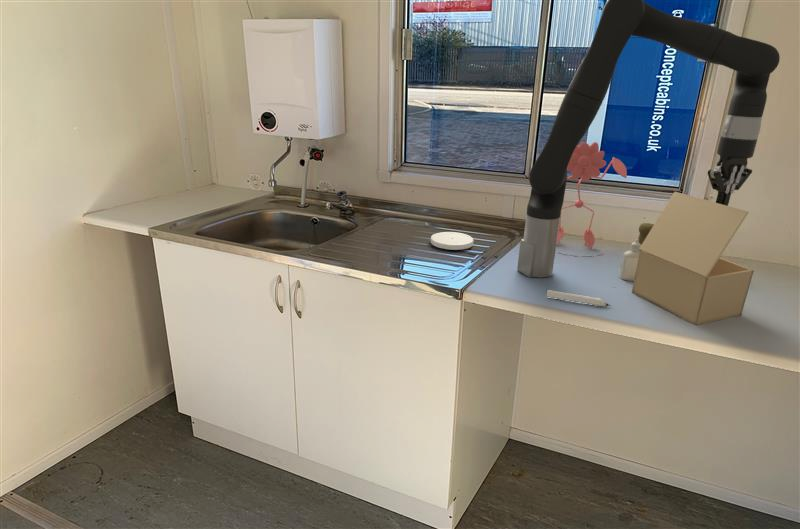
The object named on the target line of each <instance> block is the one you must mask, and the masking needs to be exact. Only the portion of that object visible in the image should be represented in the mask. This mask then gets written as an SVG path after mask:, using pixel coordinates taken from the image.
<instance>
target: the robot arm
mask: <svg viewBox="0 0 800 529" xmlns="http://www.w3.org/2000/svg"><path fill="white" fill-rule="evenodd" d="M601 12H602V13H601V15H600V18H599V21H598V24H597V27H596V29H595V32H594V36H593V39H592V41H591V43H590V46H589V48H588V49H587V52H586V54H585V55H584V58H583V59H582V61H581V63H580V65H579V66H578V68H577V70H576V72H575V73H574V76H573V77H572V80H571V82H570V84H569V85H568V88H567V90H566V92H565V94H564V97H563V99H562V102H561V103H560V106H559V109H558V111H557V114H556V116H555V119H554V122H553V125H552V126H551V131H550V133H549V135H548V138H547V141H546V143H545V144H544V146H543V148H542V150H541V152H540V153H539V156H538V157H537V158H536V161H535V162H534V164H533V165H532V167H531V169H530V171H529V176H528V178H529V179H528V180H529V185H530V187H531V190H530V195H529V200H528V203H527V208H526V215H525V216H526V217H525V224H524V231H523V232H524V234H523V238H521V239H520V242H519V251H518V260H517V267H516V269H517V271H518V272H519V273H522V274H523V275H525V276H526V277H528V278H540V279H541V278H548V277H551V276H552V275H553V271H554V262H555V256H556V249H557V244H558V243H557V236H558V229H559V222H560V215H561V216H562V210H563V209H562V208H563V205H564V201H565V199H564V198H565V195H566V194H565V193H566V186H567V180H568V178H567V177H568V171H567V166H568V164H569V161H570V159H571V156H572V154H573V152H574V150H575V148H576V146H577V145H579V143H581V142H580V141H581V140H582V139H583V138H584V136H585V134H586V132H587V131H588V130H589V128H590V126H591V125H592V123H593V121H594V120H595V119H596V116H597V114H598V112H599V110H600V108H601V106H602V105H603V101H604V100H605V98H606V96H607V93H608V90H609V88H610V85H611V82H612V79H613V75H614V72H615V69H616V65H617V62H618V60H619V58H620V55H621V54H622V53H623V52H622V51H623V50H624V49H625V46H626V45H627V43H628V42H629V39H630V38H631V37H632V36H634V37H638V38H643V39H647V40H651V41H654V42H657V43H660V44H663V45H665V46H668V47H670V48H672V49H675V50H677V51H678V52H682V53H684V54H686V55H688V56H691V57H694V58H697V59H699V60H702V61H705V62H708V63H711V64H714V65H719V66H723V67H726V68H728V69H729V70H730V69H731V70H733V71H735V79H734V85H733V91H732V96H731V98H730V100H729V101H730V102H729V106H728V110H727V114H726V117H725V120H724V123H723V126H722V128H721V129H722V130H721V134H720V138H719V141H718V142H719V143H718V146H717V150H716V153H717V155H719V159H718V160H717V162H716V167H714V169H709V170H708V171H707V176H708V179H709V181H710V184H711V188H712V189H713V190H715V191H716V192H717V195H716V199H715V203H719V204H722V205H726V206H729V204H730V200H731V195H732V194H733V193H734V191H739V190H740V188H741V187H742V186H743V185H744V183H745V182H747V180H748V178H749V177H750V176H751V174H752V173H753V169H750V168H749V167H748V159H751V158H753V156H754V153H755V151H756V146H757V142H758V139H759V135H760V132H761V126H762V119H763V115H764V111H765V107H766V103H767V100H768V99H767V98H768V93H767V87H768V83H769V80H770V76H771V74H772V73H773V72H774V71H775V70H776V69H777V67H778V66H779V64H780V57H781V56H780V53H779V50H778V49H777V48H776V47H774V46H773V45H771V44H769V43H766V42H762V41H759V40H755V39H753V38H747V37H743V36H739V35H736V34H734V33H732V32H730V31H728V30H725V29H722V28H719V27H716V26H714V25H711V24H707V23H704V22H700V21H697V20H692V19H688V18H683V17H679V16H675V15H673V14H670V13H667V12H664V11H662V10H660V9H657V8H656V7H654V6H653V5H650V4H648V3H646V2H645V1H644V0H607V1H606V2H605V4H604V6H603V9H602V11H601Z"/></svg>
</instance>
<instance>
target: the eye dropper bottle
mask: <svg viewBox="0 0 800 529" xmlns="http://www.w3.org/2000/svg"><path fill="white" fill-rule="evenodd" d="M630 244H631V245H630V250H627V251H625V252H624V253H623V255H622V260H621V265H620V270H619V275H618V277H619V278H620V279H621V280H623V281H629V282H630V281H631V282H632V281H633V282H634V279H635V274H636V269H637V264H638V259H639V254H640V249H639V248H640V246H641V244H640V243H639V239H638V238H635V240H634V242H631V243H630Z"/></svg>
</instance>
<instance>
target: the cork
mask: <svg viewBox="0 0 800 529" xmlns="http://www.w3.org/2000/svg"><path fill="white" fill-rule="evenodd" d="M654 224H655V223H654ZM654 224H653V223H649V222H648V223H647V222H642V223H641V224H640V225H639V227H638V232H639V234H638V238H637V239H639V243H640V244H641V245H642V243H643V242H644V240H645V238H646V237H647V235H648V234H649V232H650V230H651V229H652V227H653V226H654ZM640 251H642V250H640Z"/></svg>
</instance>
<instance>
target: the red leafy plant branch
mask: <svg viewBox="0 0 800 529" xmlns="http://www.w3.org/2000/svg"><path fill="white" fill-rule="evenodd" d="M599 149H600V148H599V144H598V142H597V141H595V142H592V143H591V144H590V145H589V143H587V142H585V141H582V142H580V145H579V144H578V145H577V146H576V148H575V150H574V152H573V154H572V156H571V159H570V161H569V164H568V166H567V172H571V173H570V174H571V175H569V176H567V179H570V178H571V179H572V180H574V181H575V180H578V179H579V178H580V179H579V181H578V182H577V183H576V184H577V185H576V188H577V194H578V196H577V197H578V199H576V200H575V202H574V204H571V205H568V206H564V207H563V206H562V209H561V210H563V209H567V208H570V207H574V206H575V207H576V208H578V209H581V208H583V207H584V208H585V209H587V210H589V211H591V212H592V216H591V219H590V223H589V227H588V228H586V229H585V230H584V233H583V240H584V245H585V244H586V245H587V247H588V248H590V250H592V249H593V247H594V244H595V234H594V233H593V231H592V230H591V226H592V222H593V217H594V214H595V211H594V210H593V209H590V208H589V207H587V206H586V205H584V201H583V200H582V199H581V195H580V194H581V193H580V184H581V182H582V180H583V181H585V182H588V181H590V180H591V178H592V179H599V180H602V179H603V178H604V177H605V175H606V174H607V172H608V170H609V169H610V167H611V166H612V167H613V169H614V171H615V172H616V174H618V175H619V176H621V177H622V178H624V179H627V177H628V175H627V174H628V172H627V168H626V167H627V166H626V165H625V164H624V163H623V161H621V159H619V158H616V157H614V156H613V157H612V160H611V161H610V162H609V164H608V165H607V161H606V160H604V157H605V151H604V150H600V151H599ZM606 165H607V167H606V168H605V170H604V172H603V174H601V171H600V169H602V168H604V167H605V166H606ZM561 217H562V214H561V215H560V222H559V229H558V236H557V243H556V244H558V243H559V242H560V241H561V240H562V239H563V237H564V234H565V230H564V227H563V226H561V220H562V218H561ZM559 254H561V255H562V253H561V252H559ZM563 255H564V256H565V255H566V256H567V254H564V253H563ZM603 255H604V253H602V254H598V255H597V257H601V256H603ZM568 256H569V257H570V256H571V257H574V258H575V257H576V258H578V255H570V254H568ZM592 256H593V255H592ZM592 256H591V255H590V256H589V255H588V256H585V255H582V257H581V258H584V257H585V258H587V257H590V258H593V257H592Z"/></svg>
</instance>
